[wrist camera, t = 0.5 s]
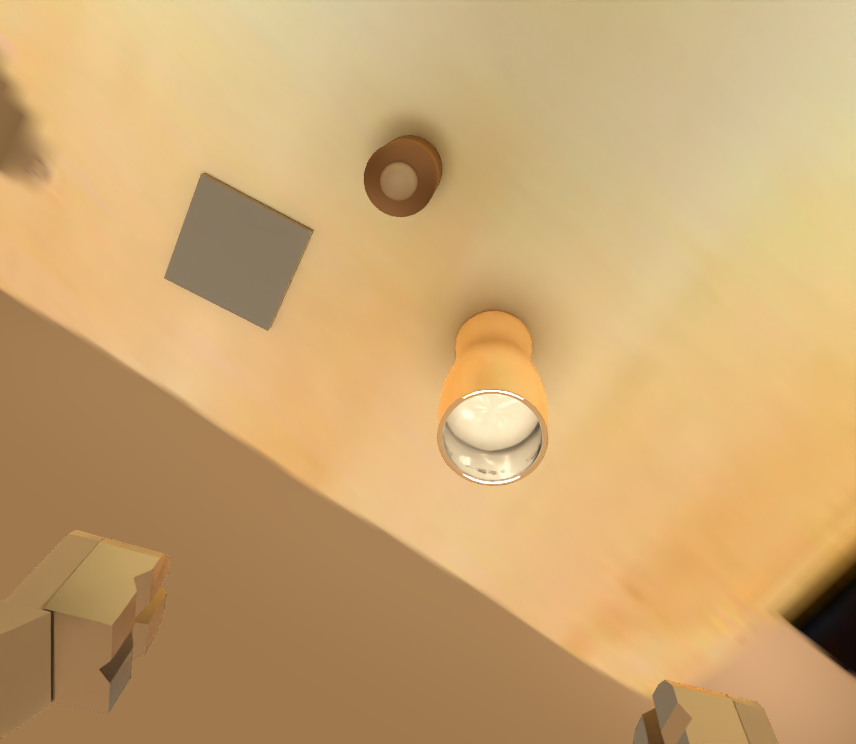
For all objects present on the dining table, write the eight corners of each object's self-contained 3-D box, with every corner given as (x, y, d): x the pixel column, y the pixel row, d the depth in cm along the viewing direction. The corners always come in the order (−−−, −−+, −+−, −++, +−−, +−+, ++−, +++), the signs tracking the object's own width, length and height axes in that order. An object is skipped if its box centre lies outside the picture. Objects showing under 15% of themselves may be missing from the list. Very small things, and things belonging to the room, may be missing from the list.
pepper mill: (396, 123, 47) (379, 130, 41) (453, 155, 48) (446, 168, 41) (368, 182, 49) (347, 199, 42) (423, 212, 50) (412, 234, 43)
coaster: (204, 173, 50) (201, 174, 49) (313, 230, 51) (311, 232, 50) (167, 276, 54) (164, 278, 53) (270, 328, 55) (267, 330, 54)
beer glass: (432, 352, 54) (410, 445, 40) (487, 287, 51) (484, 362, 38) (499, 402, 55) (499, 508, 42) (556, 341, 53) (576, 433, 39)
